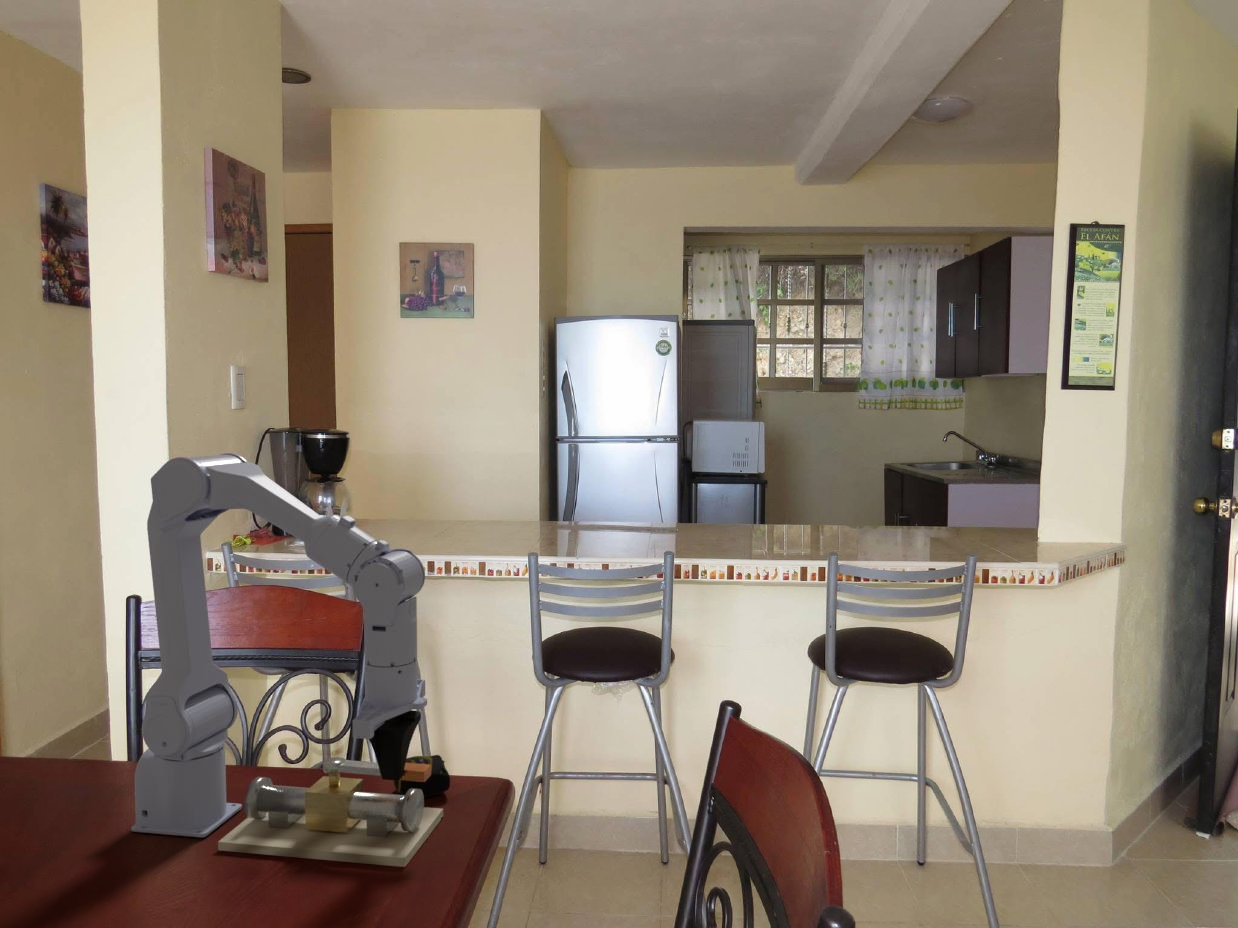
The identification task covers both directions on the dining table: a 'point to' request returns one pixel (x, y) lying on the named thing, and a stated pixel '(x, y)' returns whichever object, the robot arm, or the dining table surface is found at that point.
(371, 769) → the valve lever
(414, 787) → the tape measure
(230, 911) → the dining table surface
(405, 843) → the board
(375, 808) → the ball valve
